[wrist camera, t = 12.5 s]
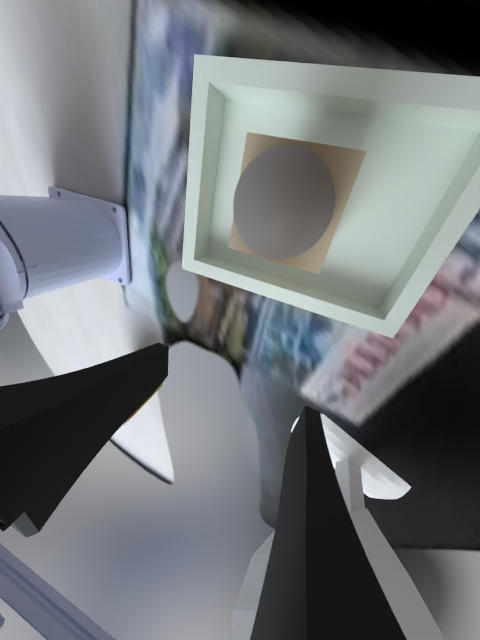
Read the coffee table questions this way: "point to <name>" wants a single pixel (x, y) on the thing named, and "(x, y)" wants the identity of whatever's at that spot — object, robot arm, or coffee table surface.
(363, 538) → the heart sculpture
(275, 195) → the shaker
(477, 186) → the tray
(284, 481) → the robot arm
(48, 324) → the coffee table surface
